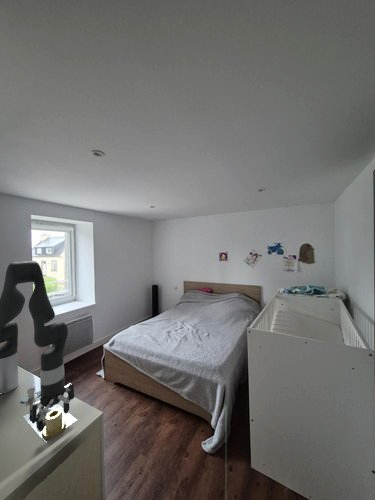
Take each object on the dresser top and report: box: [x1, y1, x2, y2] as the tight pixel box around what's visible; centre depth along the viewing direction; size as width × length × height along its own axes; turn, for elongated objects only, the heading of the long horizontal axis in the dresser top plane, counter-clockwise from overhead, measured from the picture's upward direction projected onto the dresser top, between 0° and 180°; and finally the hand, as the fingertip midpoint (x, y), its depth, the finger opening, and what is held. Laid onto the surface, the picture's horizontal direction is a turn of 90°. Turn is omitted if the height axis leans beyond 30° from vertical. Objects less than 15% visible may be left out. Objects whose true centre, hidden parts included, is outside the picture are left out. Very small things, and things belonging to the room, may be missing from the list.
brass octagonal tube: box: [42, 408, 66, 439], centre depth 75 cm, size 7×7×6 cm
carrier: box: [22, 403, 78, 443], centre depth 81 cm, size 21×11×5 cm, turn 57°
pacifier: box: [20, 386, 41, 403], centre depth 94 cm, size 7×6×6 cm
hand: (53, 420), depth 75 cm, fingers open, 8 cm apart
